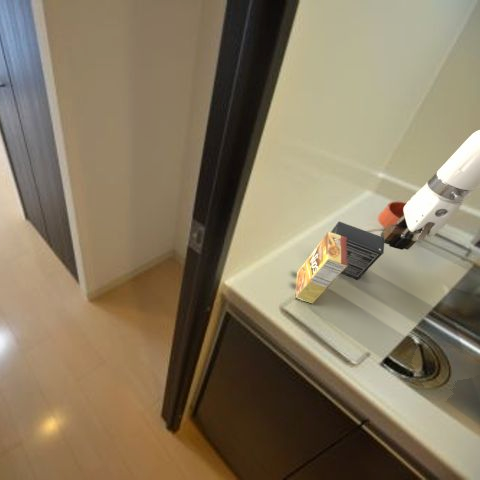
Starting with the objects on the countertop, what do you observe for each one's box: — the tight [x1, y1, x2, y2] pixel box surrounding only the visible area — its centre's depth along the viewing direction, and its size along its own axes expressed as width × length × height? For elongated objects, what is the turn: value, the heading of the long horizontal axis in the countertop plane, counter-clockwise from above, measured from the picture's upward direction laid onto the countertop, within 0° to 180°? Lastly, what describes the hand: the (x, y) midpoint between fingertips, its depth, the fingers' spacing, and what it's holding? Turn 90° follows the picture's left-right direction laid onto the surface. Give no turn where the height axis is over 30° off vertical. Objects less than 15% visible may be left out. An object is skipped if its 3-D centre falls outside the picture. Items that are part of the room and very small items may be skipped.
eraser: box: [379, 224, 417, 251], centre depth 83 cm, size 6×3×4 cm, turn 68°
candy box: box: [295, 231, 348, 304], centre depth 74 cm, size 9×4×15 cm, turn 156°
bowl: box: [377, 200, 407, 229], centre depth 94 cm, size 10×10×4 cm
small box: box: [330, 221, 385, 280], centre depth 81 cm, size 11×6×10 cm, turn 58°
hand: (394, 241), depth 84 cm, fingers closed on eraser, 3 cm apart
